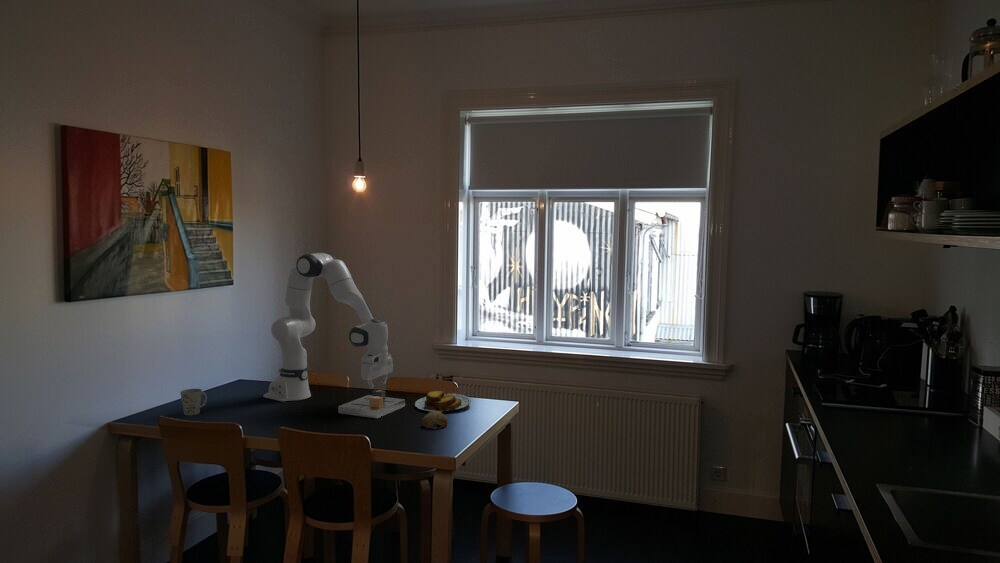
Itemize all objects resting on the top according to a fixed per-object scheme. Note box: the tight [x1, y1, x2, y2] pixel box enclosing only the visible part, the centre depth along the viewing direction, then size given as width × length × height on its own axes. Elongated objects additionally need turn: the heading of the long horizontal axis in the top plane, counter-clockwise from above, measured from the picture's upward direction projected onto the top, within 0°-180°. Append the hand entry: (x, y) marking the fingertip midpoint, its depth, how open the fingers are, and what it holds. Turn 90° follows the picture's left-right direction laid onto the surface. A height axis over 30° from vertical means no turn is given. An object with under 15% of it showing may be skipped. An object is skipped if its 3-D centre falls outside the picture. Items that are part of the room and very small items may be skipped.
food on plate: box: [414, 390, 472, 415], centre depth 299 cm, size 25×25×7 cm
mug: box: [180, 388, 208, 416], centre depth 288 cm, size 8×13×10 cm, turn 160°
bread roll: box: [421, 411, 448, 430], centre depth 270 cm, size 10×10×8 cm
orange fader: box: [369, 396, 383, 408], centre depth 287 cm, size 5×3×4 cm, turn 66°
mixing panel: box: [337, 394, 406, 419], centre depth 294 cm, size 20×22×3 cm
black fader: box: [371, 389, 386, 400], centre depth 298 cm, size 5×3×4 cm, turn 66°
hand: (377, 386), depth 298 cm, fingers open, 8 cm apart
